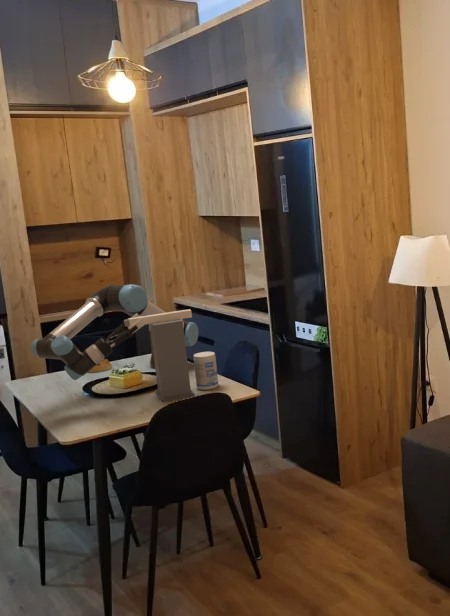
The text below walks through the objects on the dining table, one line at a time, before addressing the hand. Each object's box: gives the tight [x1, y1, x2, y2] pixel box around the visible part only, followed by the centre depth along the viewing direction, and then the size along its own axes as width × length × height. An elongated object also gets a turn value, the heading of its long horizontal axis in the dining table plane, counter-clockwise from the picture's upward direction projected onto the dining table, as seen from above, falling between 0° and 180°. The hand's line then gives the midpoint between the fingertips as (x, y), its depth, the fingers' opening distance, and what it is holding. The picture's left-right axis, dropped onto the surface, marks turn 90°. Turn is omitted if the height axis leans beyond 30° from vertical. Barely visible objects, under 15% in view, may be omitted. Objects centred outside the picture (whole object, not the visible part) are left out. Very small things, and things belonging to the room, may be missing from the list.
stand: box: [150, 319, 195, 403], centre depth 271 cm, size 14×14×32 cm
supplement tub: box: [193, 351, 219, 391], centre depth 278 cm, size 10×10×15 cm
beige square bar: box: [123, 308, 193, 327], centre depth 268 cm, size 3×28×3 cm, turn 105°
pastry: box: [87, 358, 114, 374], centre depth 330 cm, size 13×15×8 cm
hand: (141, 318), depth 266 cm, fingers open, 13 cm apart
